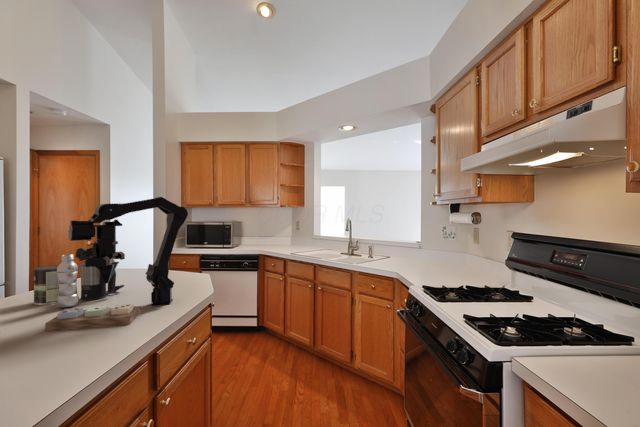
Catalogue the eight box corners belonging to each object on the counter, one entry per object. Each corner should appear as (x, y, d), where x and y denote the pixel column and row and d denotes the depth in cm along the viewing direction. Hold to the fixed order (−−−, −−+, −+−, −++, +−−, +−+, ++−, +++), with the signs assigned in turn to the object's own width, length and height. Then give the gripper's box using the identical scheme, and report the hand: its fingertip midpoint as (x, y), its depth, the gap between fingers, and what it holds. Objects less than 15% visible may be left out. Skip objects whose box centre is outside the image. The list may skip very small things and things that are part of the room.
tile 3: (133, 310, 109) (133, 303, 109) (128, 314, 105) (128, 307, 105) (116, 311, 108) (116, 304, 108) (111, 315, 103) (111, 309, 103)
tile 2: (83, 313, 106) (83, 307, 106) (75, 318, 101) (75, 311, 101) (65, 315, 104) (65, 308, 104) (57, 319, 100) (57, 313, 100)
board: (141, 312, 113) (141, 305, 113) (130, 324, 102) (130, 316, 102) (65, 318, 107) (65, 311, 107) (45, 331, 96) (45, 323, 96)
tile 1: (108, 311, 108) (108, 305, 108) (102, 316, 103) (102, 309, 103) (91, 313, 106) (91, 306, 106) (84, 317, 101) (84, 311, 101)
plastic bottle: (83, 304, 124) (83, 253, 124) (67, 309, 118) (67, 256, 118) (68, 304, 125) (67, 253, 125) (52, 309, 118) (51, 256, 118)
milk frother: (75, 301, 129) (75, 265, 129) (92, 292, 144) (92, 260, 144) (115, 299, 133) (114, 263, 133) (127, 290, 148) (127, 258, 148)
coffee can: (29, 306, 122) (28, 270, 122) (39, 300, 132) (39, 266, 132) (62, 303, 127) (62, 268, 127) (69, 297, 136) (69, 264, 136)
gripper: (91, 237, 119) (92, 279, 119) (65, 242, 101) (66, 290, 101) (125, 237, 122) (125, 277, 122) (105, 241, 104) (105, 288, 104)
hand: (106, 283), depth 112 cm, fingers closed
